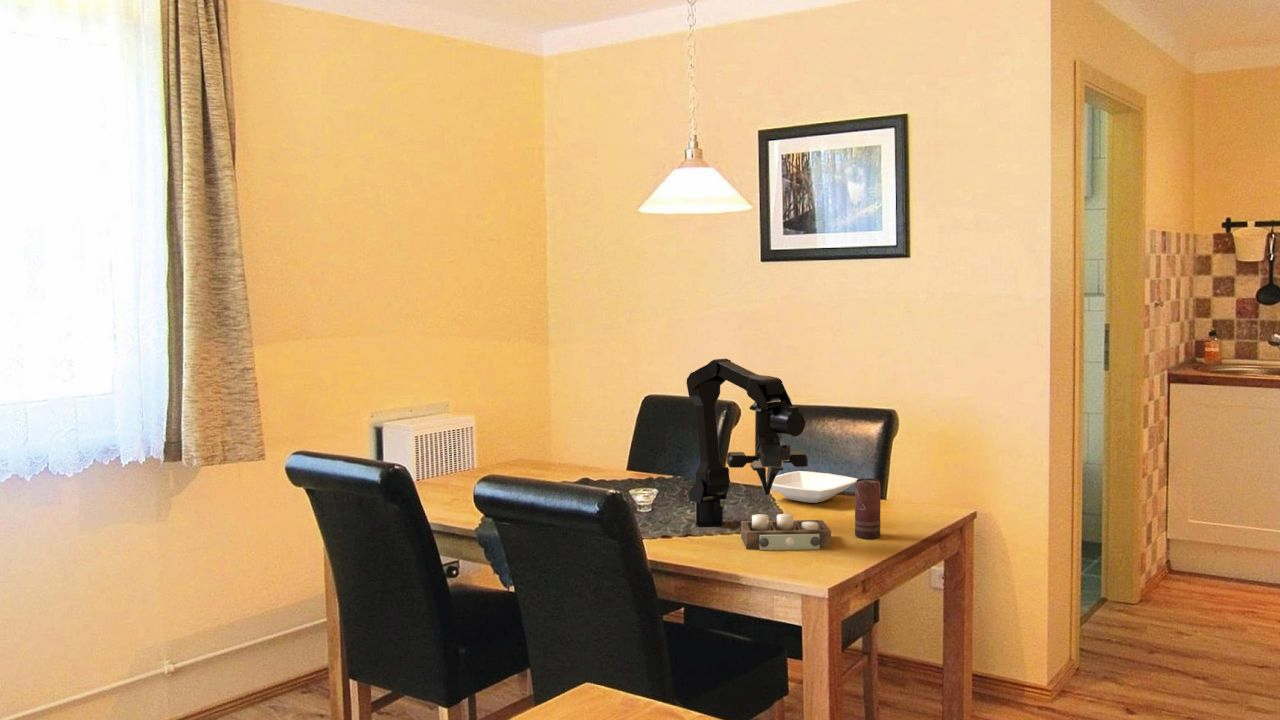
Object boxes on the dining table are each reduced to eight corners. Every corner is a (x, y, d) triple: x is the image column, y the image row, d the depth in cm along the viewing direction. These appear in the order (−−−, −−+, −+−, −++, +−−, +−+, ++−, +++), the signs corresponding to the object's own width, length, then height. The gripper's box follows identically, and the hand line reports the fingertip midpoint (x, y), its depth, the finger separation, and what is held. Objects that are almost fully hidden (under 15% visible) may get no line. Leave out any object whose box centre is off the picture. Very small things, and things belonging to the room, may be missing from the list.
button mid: (778, 530, 262) (778, 517, 262) (775, 526, 266) (775, 513, 266) (794, 529, 262) (794, 517, 262) (792, 525, 266) (792, 513, 266)
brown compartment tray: (746, 548, 259) (746, 532, 259) (741, 537, 270) (741, 521, 270) (830, 547, 259) (830, 530, 259) (822, 535, 270) (822, 519, 270)
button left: (752, 530, 262) (752, 518, 262) (750, 526, 266) (750, 514, 266) (769, 530, 262) (769, 517, 262) (767, 526, 266) (767, 514, 266)
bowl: (753, 502, 309) (753, 482, 309) (798, 488, 327) (798, 469, 326) (822, 513, 295) (822, 492, 294) (865, 498, 312) (865, 478, 312)
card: (759, 550, 258) (759, 535, 257) (759, 549, 258) (759, 535, 258) (819, 549, 258) (819, 534, 258) (819, 548, 259) (819, 533, 258)
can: (876, 540, 265) (876, 483, 264) (851, 537, 268) (851, 481, 267) (884, 535, 270) (885, 479, 269) (860, 532, 273) (860, 476, 272)
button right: (803, 537, 263) (803, 525, 262) (800, 533, 267) (800, 521, 266) (819, 537, 263) (819, 525, 262) (816, 533, 267) (816, 521, 266)
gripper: (732, 436, 254) (732, 503, 255) (812, 435, 255) (812, 501, 256) (726, 428, 265) (726, 492, 266) (803, 427, 266) (802, 491, 267)
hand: (766, 494), depth 264 cm, fingers closed
